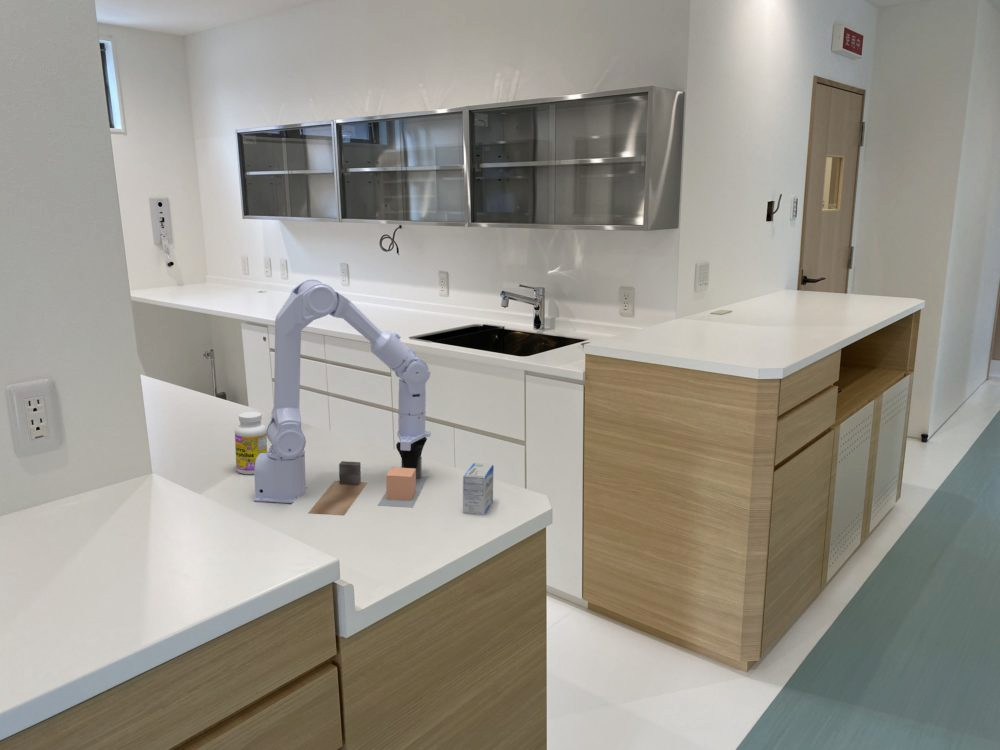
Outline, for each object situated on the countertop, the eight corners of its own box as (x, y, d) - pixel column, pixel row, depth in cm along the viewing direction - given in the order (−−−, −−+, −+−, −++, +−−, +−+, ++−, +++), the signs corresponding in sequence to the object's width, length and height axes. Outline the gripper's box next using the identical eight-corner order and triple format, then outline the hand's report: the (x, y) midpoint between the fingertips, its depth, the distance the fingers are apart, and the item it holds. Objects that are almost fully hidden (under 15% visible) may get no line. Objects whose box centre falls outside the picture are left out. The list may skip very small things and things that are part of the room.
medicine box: (484, 520, 144) (485, 477, 142) (461, 517, 145) (462, 474, 143) (493, 505, 152) (494, 464, 150) (471, 503, 152) (472, 462, 151)
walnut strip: (307, 517, 142) (307, 491, 141) (335, 484, 160) (334, 460, 159) (344, 519, 142) (343, 493, 141) (367, 486, 160) (367, 462, 158)
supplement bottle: (229, 472, 165) (227, 416, 163) (250, 463, 171) (247, 409, 169) (254, 477, 163) (252, 419, 160) (274, 468, 169) (272, 412, 166)
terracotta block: (386, 499, 150) (386, 475, 149) (391, 490, 155) (391, 467, 154) (411, 500, 150) (411, 476, 149) (415, 491, 155) (415, 468, 154)
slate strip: (377, 509, 147) (377, 484, 146) (396, 478, 165) (396, 455, 164) (412, 511, 147) (413, 486, 146) (428, 479, 164) (428, 457, 163)
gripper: (424, 421, 153) (424, 485, 156) (436, 404, 167) (435, 462, 170) (390, 420, 154) (390, 483, 156) (404, 403, 168) (404, 461, 170)
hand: (411, 472), depth 163 cm, fingers closed on slate strip, 2 cm apart
